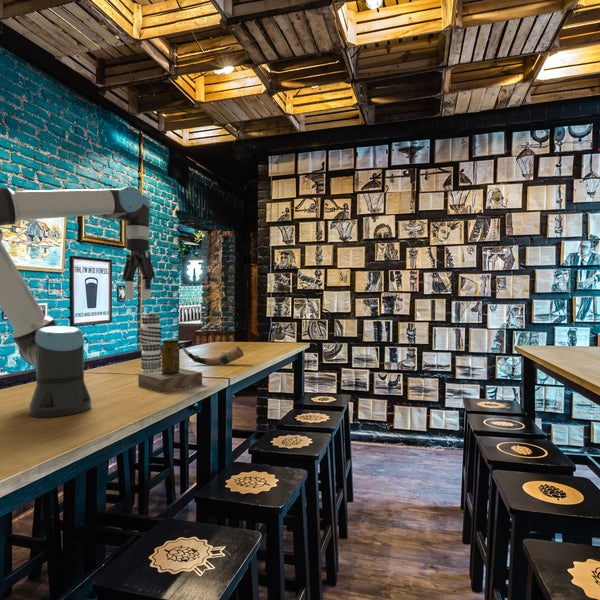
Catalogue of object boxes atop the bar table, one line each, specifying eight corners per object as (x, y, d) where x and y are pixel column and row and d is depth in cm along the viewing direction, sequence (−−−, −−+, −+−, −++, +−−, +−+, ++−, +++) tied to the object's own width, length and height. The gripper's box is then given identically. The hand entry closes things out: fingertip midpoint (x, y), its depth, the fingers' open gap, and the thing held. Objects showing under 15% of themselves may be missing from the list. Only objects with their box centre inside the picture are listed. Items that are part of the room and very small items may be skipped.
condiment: (176, 370, 154) (176, 338, 154) (185, 374, 147) (184, 340, 147) (157, 373, 149) (156, 340, 149) (165, 376, 143) (164, 342, 143)
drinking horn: (243, 365, 191) (243, 344, 191) (178, 366, 191) (178, 344, 191) (244, 363, 197) (244, 342, 197) (182, 364, 197) (181, 343, 197)
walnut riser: (161, 394, 138) (161, 379, 138) (138, 387, 149) (138, 374, 149) (202, 386, 150) (202, 372, 150) (178, 380, 160) (177, 367, 160)
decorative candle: (166, 368, 186) (165, 312, 186) (156, 372, 177) (155, 313, 177) (147, 368, 187) (146, 313, 187) (136, 371, 178) (135, 313, 178)
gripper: (165, 236, 141) (164, 298, 141) (133, 244, 158) (132, 299, 158) (144, 233, 136) (143, 298, 135) (113, 241, 153) (112, 299, 153)
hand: (137, 299), depth 147 cm, fingers open, 13 cm apart
